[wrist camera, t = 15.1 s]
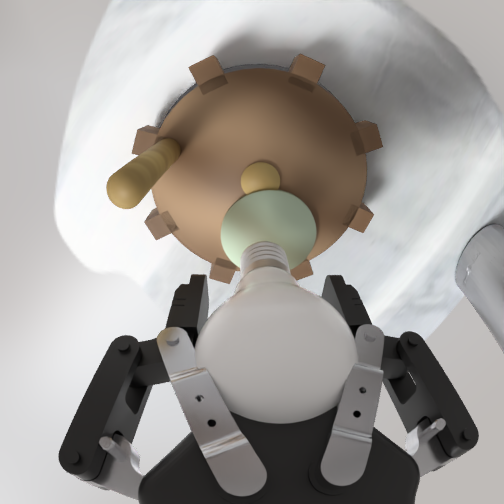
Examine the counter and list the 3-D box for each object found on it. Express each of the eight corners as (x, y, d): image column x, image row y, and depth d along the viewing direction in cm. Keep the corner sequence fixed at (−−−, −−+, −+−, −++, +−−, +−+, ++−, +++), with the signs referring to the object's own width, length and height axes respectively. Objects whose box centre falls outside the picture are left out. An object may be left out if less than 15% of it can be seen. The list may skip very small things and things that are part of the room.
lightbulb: (330, 218, 16) (417, 389, 6) (296, 301, 19) (327, 458, 10) (219, 195, 15) (188, 388, 5) (202, 287, 18) (182, 456, 9)
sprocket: (183, 24, 13) (134, -22, 5) (406, 118, 16) (492, 150, 9) (124, 236, 21) (76, 313, 14) (311, 291, 25) (333, 376, 17)
